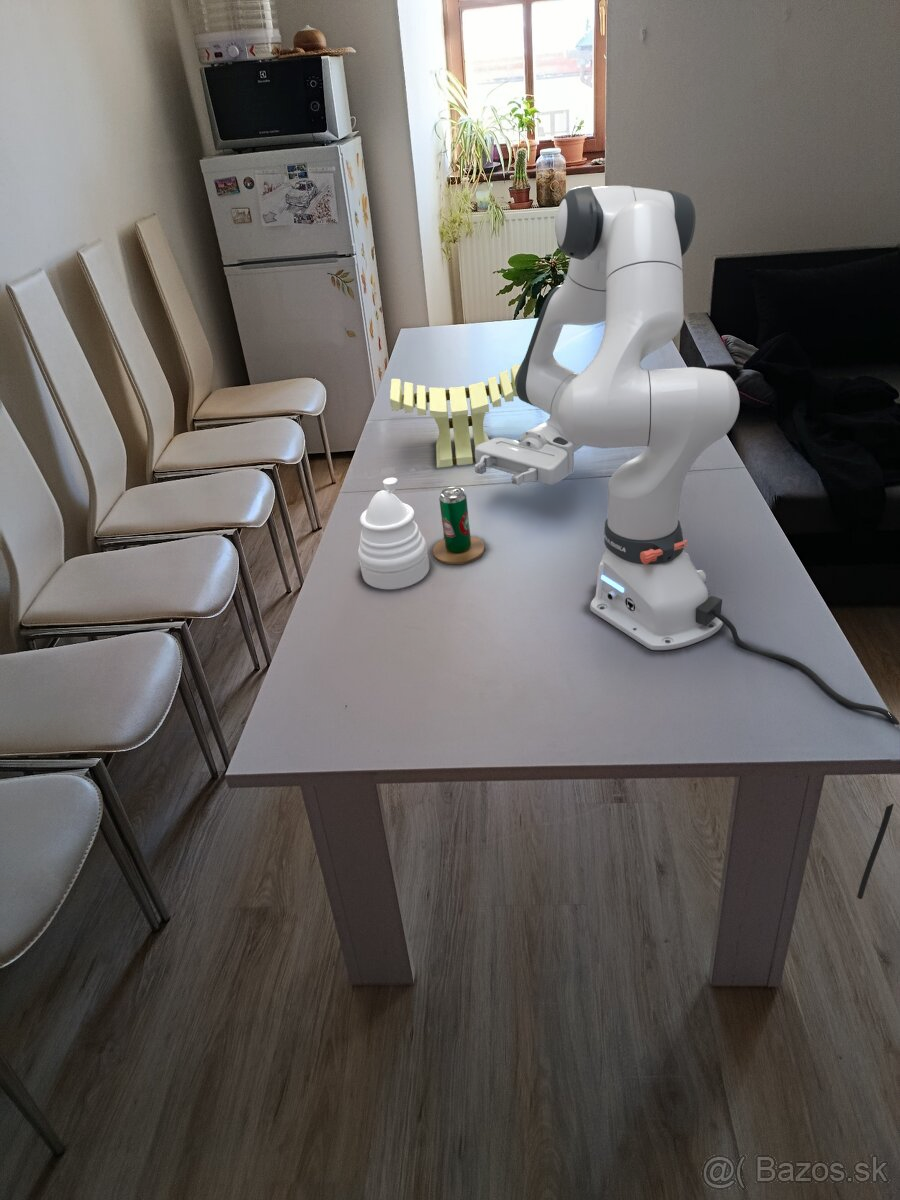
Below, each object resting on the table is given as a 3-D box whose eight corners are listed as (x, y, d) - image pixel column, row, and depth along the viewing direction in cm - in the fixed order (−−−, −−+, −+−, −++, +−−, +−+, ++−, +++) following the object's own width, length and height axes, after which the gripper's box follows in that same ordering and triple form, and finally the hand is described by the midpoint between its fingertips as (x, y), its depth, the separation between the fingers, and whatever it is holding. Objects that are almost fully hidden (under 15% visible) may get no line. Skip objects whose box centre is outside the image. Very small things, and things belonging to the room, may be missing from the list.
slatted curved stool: (521, 430, 197) (517, 359, 187) (529, 457, 184) (525, 383, 174) (402, 443, 198) (391, 374, 188) (401, 471, 185) (389, 398, 175)
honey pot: (402, 544, 158) (389, 462, 147) (443, 568, 149) (432, 482, 139) (349, 571, 151) (331, 487, 141) (388, 597, 143) (372, 509, 133)
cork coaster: (493, 555, 151) (492, 552, 151) (444, 570, 148) (444, 567, 148) (472, 532, 159) (471, 530, 158) (425, 546, 156) (425, 544, 156)
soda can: (441, 545, 155) (434, 490, 148) (464, 538, 156) (458, 483, 149) (452, 557, 151) (445, 501, 144) (475, 549, 152) (470, 493, 145)
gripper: (498, 425, 166) (454, 449, 159) (579, 445, 154) (536, 472, 146) (500, 452, 170) (457, 477, 162) (580, 474, 158) (537, 502, 150)
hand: (495, 475), depth 154 cm, fingers open, 8 cm apart
